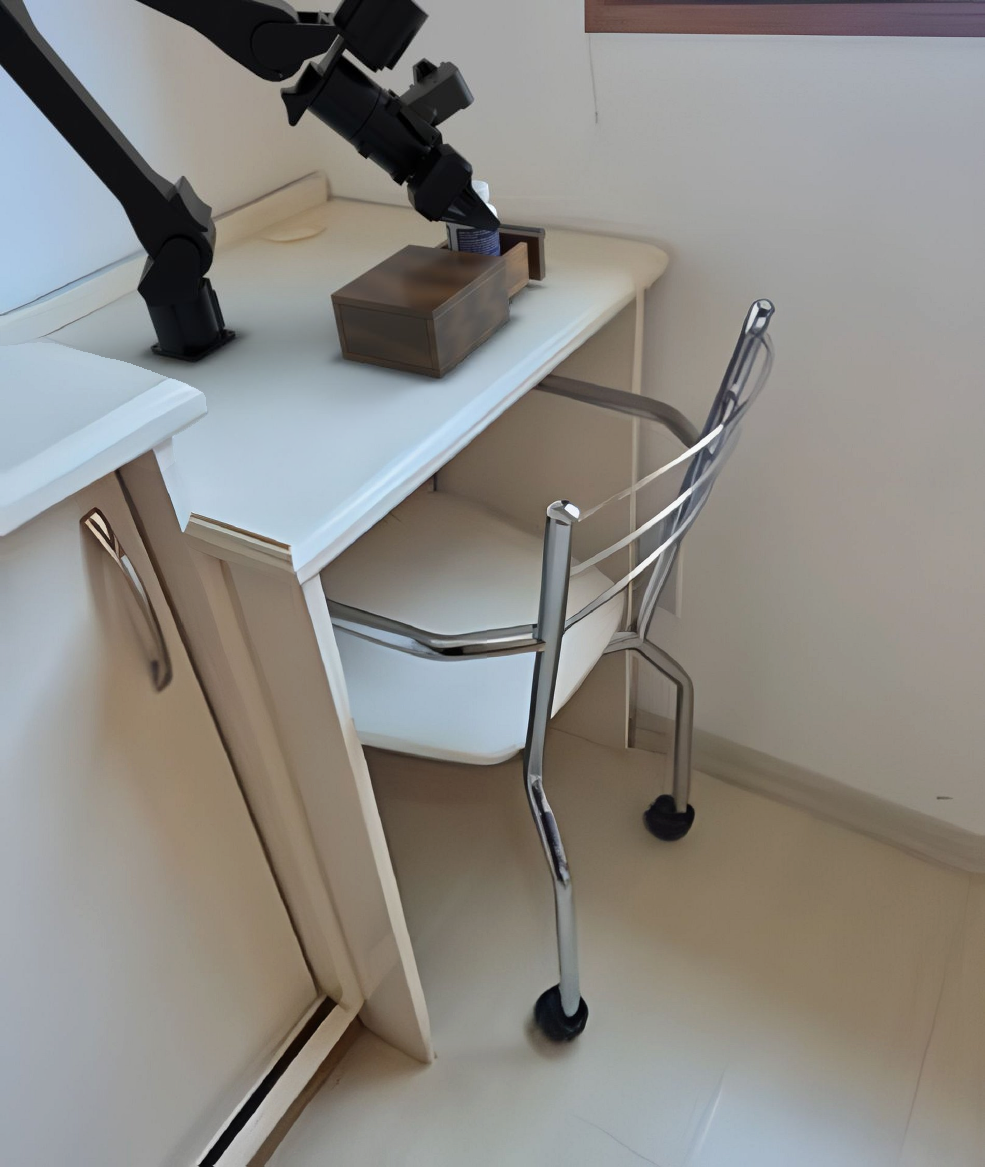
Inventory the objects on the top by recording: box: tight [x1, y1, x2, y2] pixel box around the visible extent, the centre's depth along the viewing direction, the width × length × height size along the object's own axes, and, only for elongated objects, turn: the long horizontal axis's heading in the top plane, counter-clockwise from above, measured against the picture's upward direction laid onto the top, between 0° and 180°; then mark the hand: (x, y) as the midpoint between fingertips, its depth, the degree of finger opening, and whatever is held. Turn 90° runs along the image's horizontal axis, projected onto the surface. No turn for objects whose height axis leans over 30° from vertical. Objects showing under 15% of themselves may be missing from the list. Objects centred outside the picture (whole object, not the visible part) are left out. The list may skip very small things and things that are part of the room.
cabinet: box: [330, 244, 511, 379], centre depth 92 cm, size 14×12×7 cm
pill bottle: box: [445, 180, 500, 257], centre depth 97 cm, size 5×5×10 cm
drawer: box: [433, 222, 547, 300], centre depth 100 cm, size 17×10×5 cm, turn 150°
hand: (485, 213), depth 96 cm, fingers open, 9 cm apart
